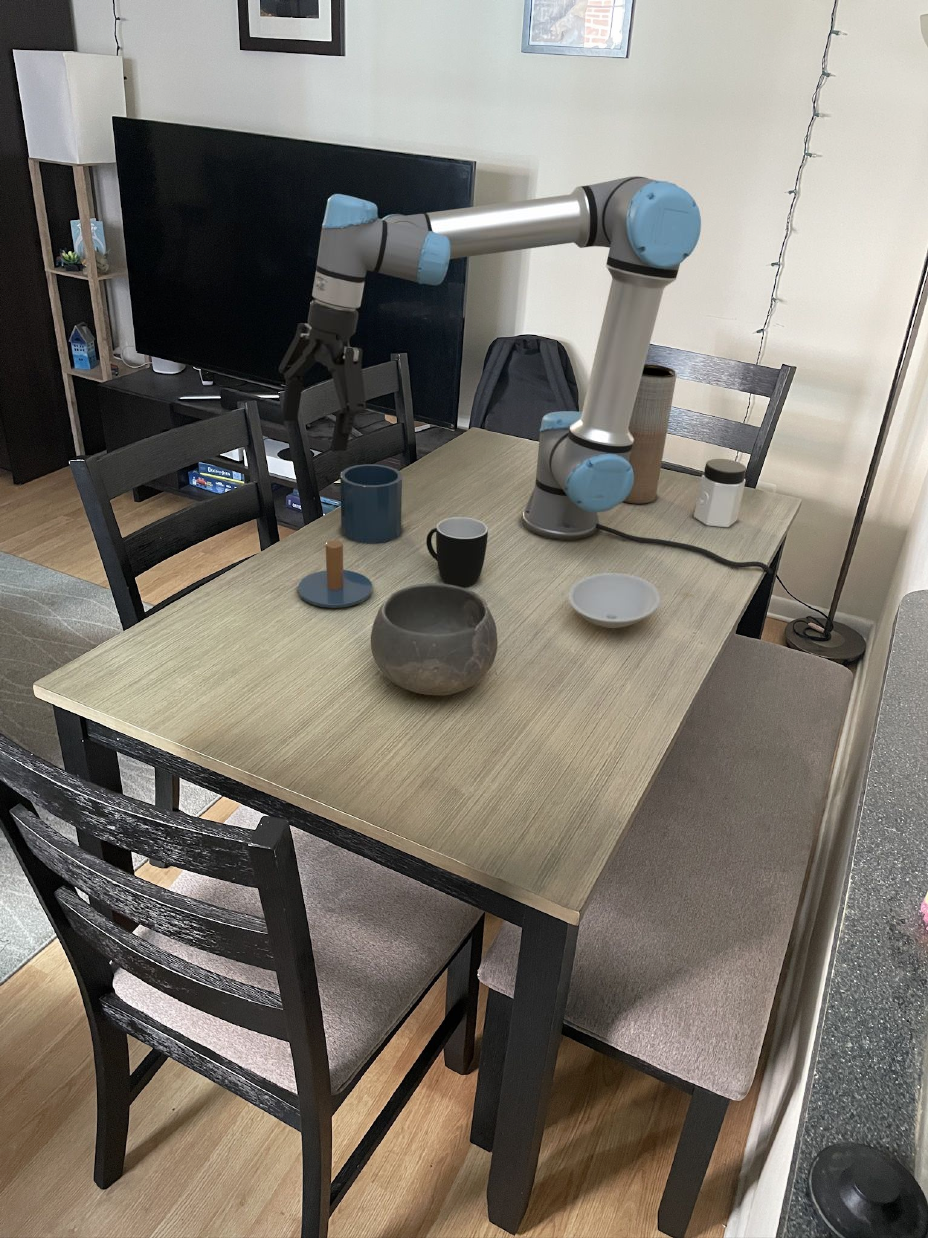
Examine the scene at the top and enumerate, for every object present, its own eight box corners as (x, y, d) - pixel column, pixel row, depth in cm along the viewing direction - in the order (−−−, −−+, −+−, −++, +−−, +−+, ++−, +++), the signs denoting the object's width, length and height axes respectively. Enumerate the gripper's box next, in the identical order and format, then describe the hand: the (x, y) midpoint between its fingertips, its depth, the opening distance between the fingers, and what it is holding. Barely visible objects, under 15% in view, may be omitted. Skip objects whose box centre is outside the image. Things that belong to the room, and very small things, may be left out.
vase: (627, 483, 203) (646, 361, 189) (664, 497, 198) (686, 371, 184) (601, 494, 197) (618, 368, 183) (638, 508, 191) (659, 379, 177)
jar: (686, 513, 190) (696, 459, 184) (717, 508, 193) (728, 456, 187) (711, 530, 183) (723, 475, 177) (743, 525, 186) (756, 471, 180)
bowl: (510, 709, 126) (517, 632, 119) (385, 726, 121) (385, 647, 115) (473, 643, 140) (478, 572, 134) (360, 656, 136) (359, 583, 129)
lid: (387, 593, 153) (388, 544, 149) (332, 618, 145) (331, 568, 140) (338, 568, 160) (337, 521, 155) (282, 592, 152) (279, 543, 147)
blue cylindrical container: (413, 531, 176) (414, 476, 170) (370, 548, 168) (370, 491, 162) (372, 513, 182) (372, 459, 176) (329, 529, 174) (327, 474, 168)
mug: (494, 578, 160) (498, 526, 155) (464, 596, 154) (467, 543, 148) (441, 558, 166) (443, 507, 161) (410, 574, 159) (412, 522, 154)
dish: (626, 659, 139) (631, 631, 136) (546, 628, 145) (549, 602, 143) (671, 615, 152) (676, 589, 149) (596, 589, 158) (599, 564, 156)
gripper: (269, 280, 142) (251, 408, 152) (367, 327, 129) (341, 465, 138) (307, 284, 148) (287, 407, 157) (405, 329, 134) (378, 462, 144)
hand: (313, 434), depth 148 cm, fingers open, 13 cm apart
